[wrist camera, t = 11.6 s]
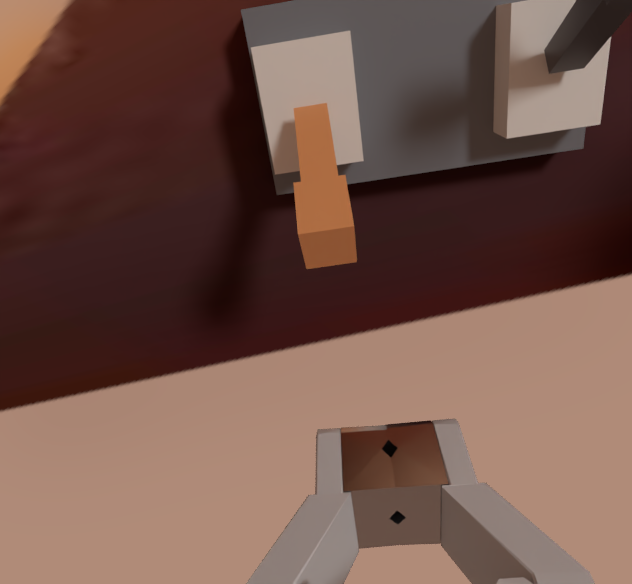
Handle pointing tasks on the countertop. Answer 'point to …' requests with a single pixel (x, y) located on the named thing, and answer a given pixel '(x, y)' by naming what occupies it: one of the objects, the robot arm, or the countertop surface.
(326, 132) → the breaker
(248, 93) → the countertop surface
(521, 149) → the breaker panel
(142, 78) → the countertop surface
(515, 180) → the countertop surface
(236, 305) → the countertop surface
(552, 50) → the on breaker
